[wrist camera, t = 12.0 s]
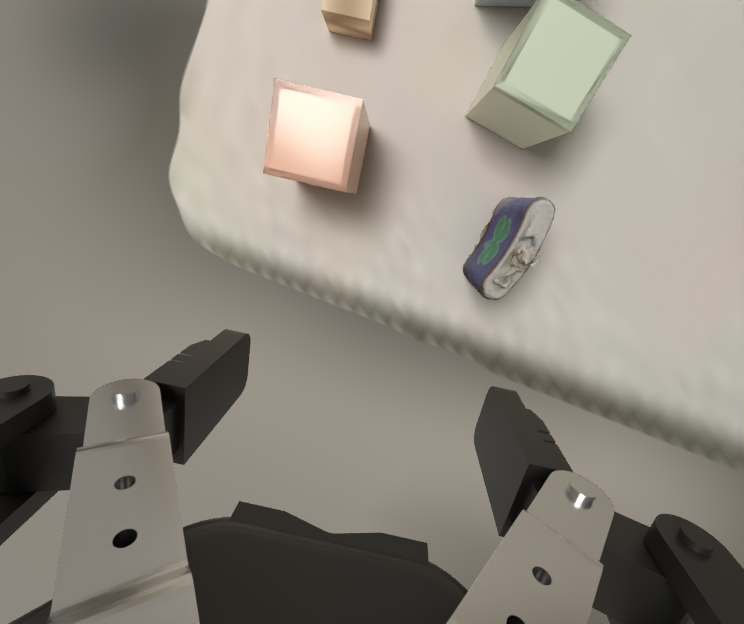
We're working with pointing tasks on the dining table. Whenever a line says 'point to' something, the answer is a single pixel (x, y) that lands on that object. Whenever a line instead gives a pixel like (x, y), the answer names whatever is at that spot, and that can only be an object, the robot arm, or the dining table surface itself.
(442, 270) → the dining table surface
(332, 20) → the tan cube
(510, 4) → the blue grey bevelled block
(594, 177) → the dining table surface
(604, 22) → the pale green bevelled block
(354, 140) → the peach pink block
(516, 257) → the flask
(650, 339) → the dining table surface
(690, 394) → the dining table surface
